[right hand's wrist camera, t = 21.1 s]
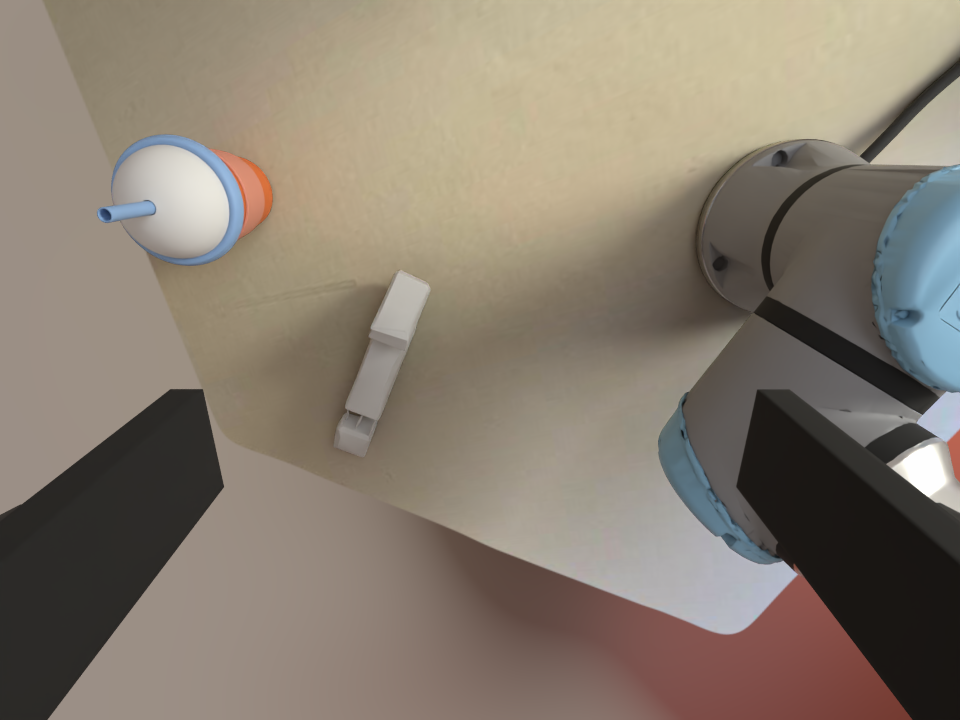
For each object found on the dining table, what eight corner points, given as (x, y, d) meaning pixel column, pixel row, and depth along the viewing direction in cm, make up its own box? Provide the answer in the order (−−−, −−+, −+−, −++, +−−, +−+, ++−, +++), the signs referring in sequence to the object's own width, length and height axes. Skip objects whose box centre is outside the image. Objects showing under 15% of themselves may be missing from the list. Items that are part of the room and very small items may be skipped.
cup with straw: (192, 238, 49) (40, 283, 32) (182, 132, 45) (7, 120, 29) (291, 248, 49) (191, 299, 32) (288, 144, 46) (175, 139, 29)
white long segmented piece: (398, 264, 49) (381, 288, 43) (435, 279, 50) (424, 305, 43) (340, 427, 58) (320, 465, 52) (372, 438, 58) (356, 478, 52)
